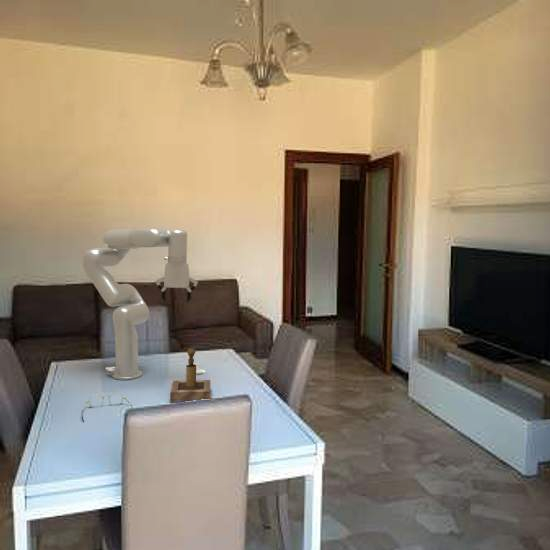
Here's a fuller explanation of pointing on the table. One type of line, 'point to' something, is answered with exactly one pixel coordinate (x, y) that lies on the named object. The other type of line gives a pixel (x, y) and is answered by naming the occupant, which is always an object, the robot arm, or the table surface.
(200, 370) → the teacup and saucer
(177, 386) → the walnut holder
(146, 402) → the table surface
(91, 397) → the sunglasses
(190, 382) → the brown flared column
